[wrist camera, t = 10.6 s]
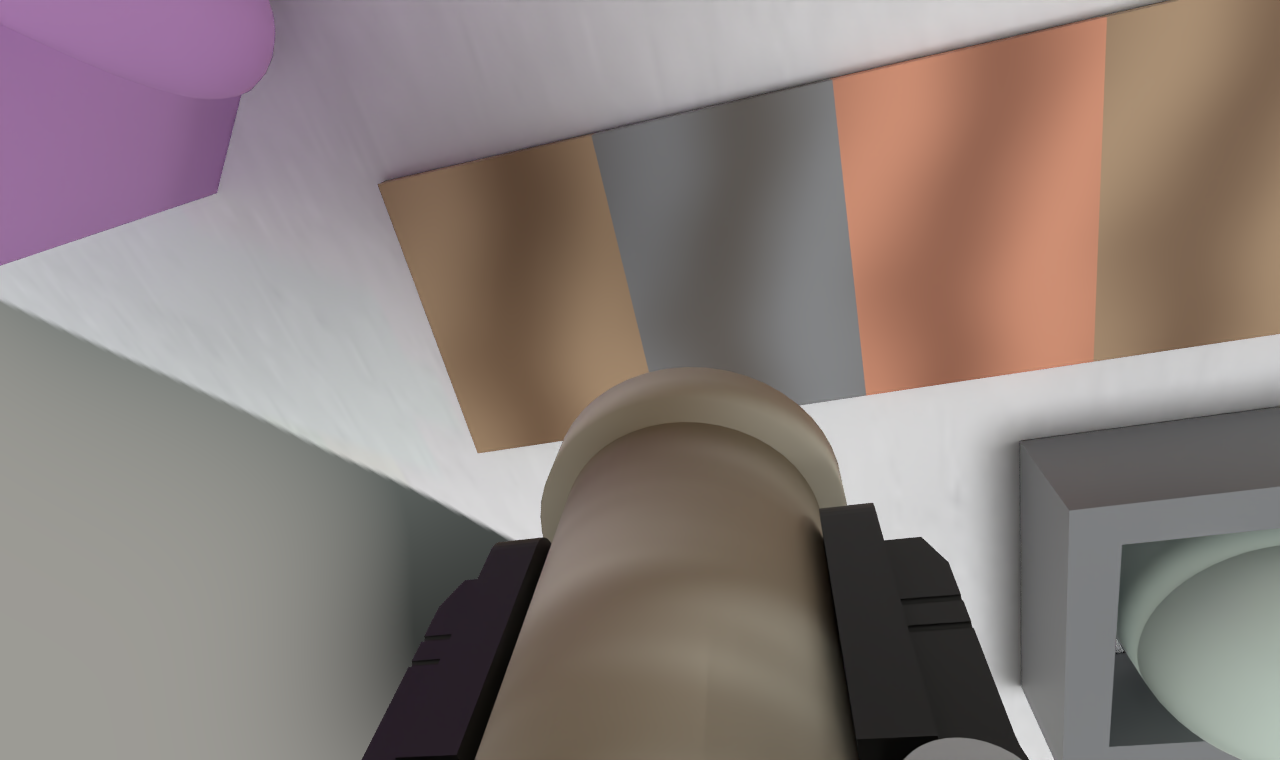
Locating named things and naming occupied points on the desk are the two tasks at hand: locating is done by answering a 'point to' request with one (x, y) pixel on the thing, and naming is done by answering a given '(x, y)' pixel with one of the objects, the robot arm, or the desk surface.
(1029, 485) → the dome housing
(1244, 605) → the dome
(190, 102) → the teapot
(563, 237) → the track board
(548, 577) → the pawn
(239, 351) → the desk surface
